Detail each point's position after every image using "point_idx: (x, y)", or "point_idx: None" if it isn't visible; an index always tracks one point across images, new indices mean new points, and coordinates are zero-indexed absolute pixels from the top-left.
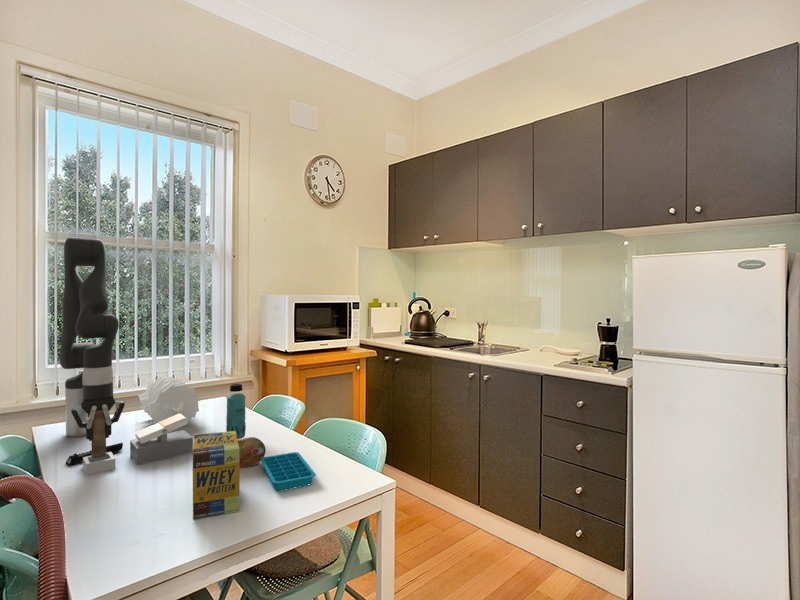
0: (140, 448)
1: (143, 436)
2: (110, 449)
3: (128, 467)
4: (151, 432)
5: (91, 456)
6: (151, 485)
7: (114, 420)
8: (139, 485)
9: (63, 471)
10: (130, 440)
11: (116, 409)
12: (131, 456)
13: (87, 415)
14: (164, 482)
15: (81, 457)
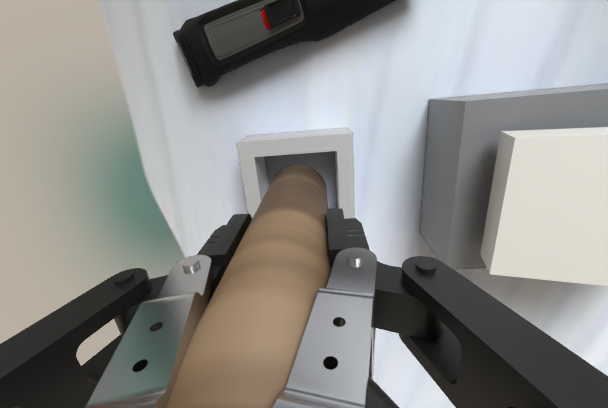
0: (460, 267)
1: (515, 276)
2: (362, 6)
3: (389, 236)
4: (577, 273)
5: (270, 153)
6: (407, 389)
7: (404, 336)
8: (383, 375)
9: (185, 139)
10: (465, 109)
11: (499, 374)
12: (428, 126)
13: (135, 330)
14: (438, 390)
15: (231, 68)
